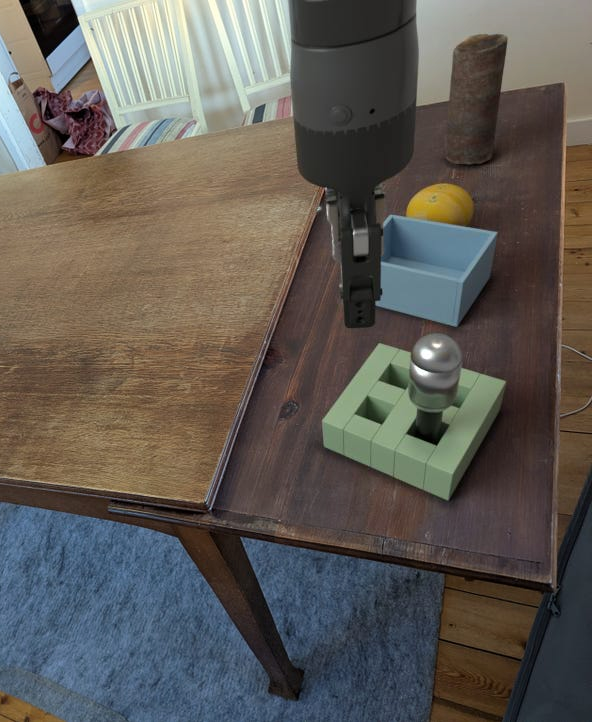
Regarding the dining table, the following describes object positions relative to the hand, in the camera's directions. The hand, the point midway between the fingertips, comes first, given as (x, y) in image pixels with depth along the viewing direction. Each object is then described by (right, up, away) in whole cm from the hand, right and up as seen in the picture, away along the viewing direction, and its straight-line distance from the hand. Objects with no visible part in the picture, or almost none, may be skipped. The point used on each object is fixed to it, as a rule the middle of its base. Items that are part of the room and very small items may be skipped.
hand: (355, 290), depth 50 cm
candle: (+42, +29, +56) cm, 75 cm away
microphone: (+15, -17, +18) cm, 29 cm away
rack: (+15, -14, +21) cm, 30 cm away
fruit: (+30, +14, +44) cm, 55 cm away
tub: (+24, +5, +37) cm, 44 cm away
